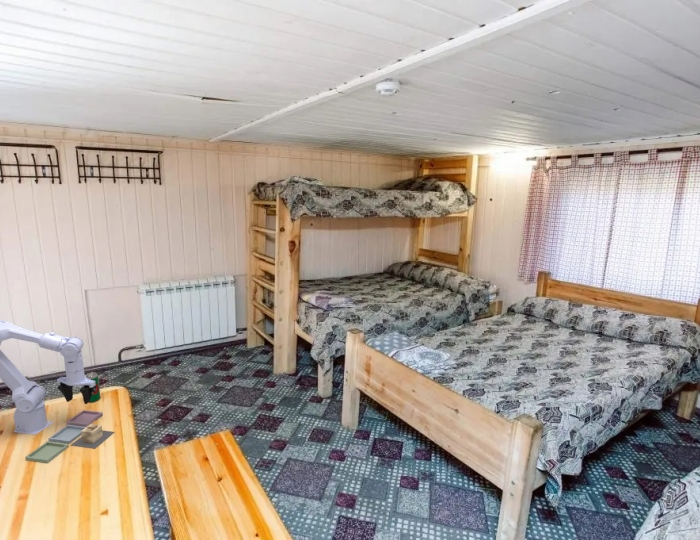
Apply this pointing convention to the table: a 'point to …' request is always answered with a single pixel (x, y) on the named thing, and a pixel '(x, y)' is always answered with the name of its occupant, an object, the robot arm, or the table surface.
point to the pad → (90, 445)
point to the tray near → (47, 452)
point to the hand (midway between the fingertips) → (78, 401)
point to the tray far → (84, 418)
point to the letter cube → (92, 433)
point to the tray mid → (67, 434)
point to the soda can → (96, 390)
